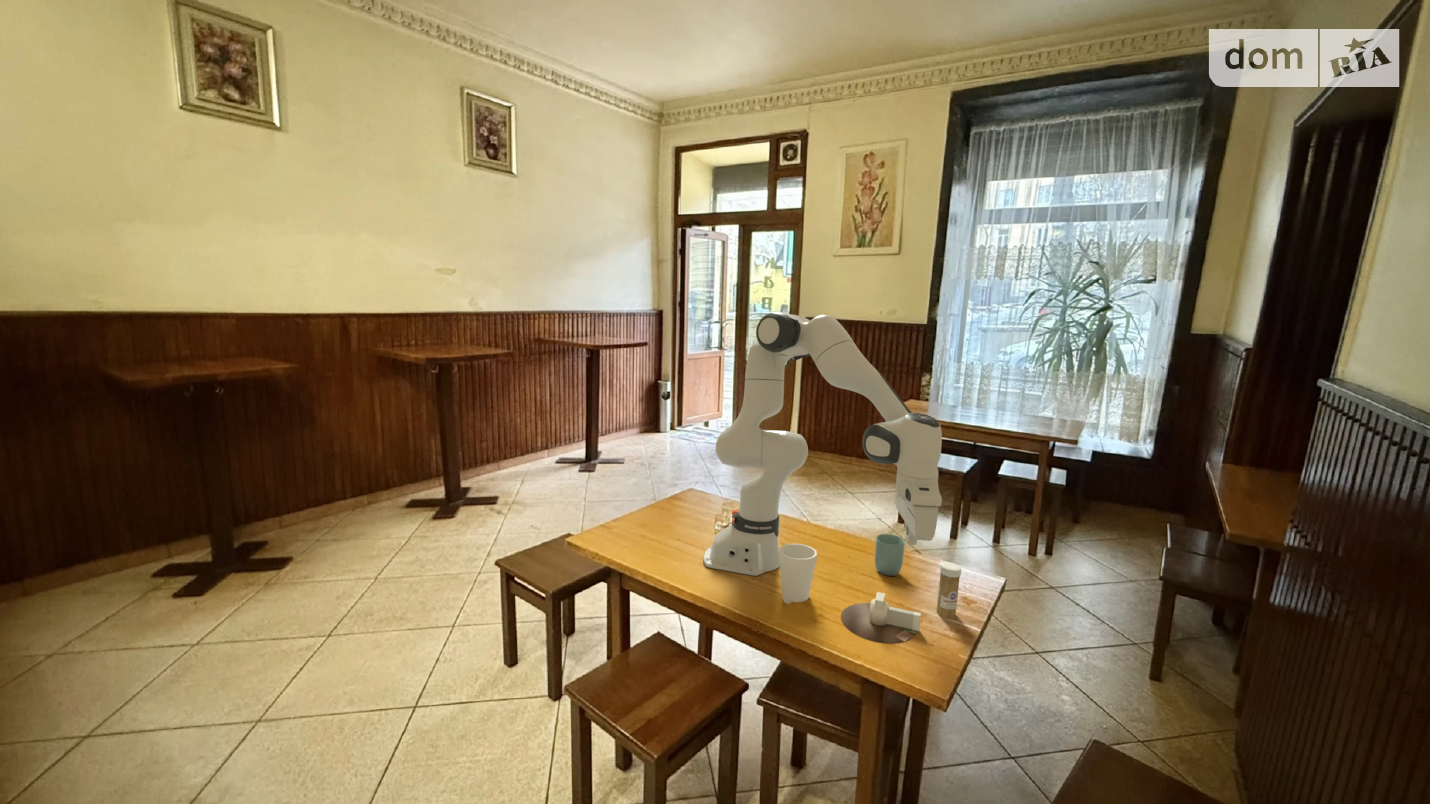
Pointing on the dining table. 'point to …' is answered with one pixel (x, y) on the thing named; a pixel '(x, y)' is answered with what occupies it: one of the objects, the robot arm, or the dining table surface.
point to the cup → (889, 554)
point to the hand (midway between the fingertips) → (910, 542)
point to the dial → (873, 626)
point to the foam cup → (796, 571)
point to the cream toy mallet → (892, 614)
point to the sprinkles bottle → (948, 590)
